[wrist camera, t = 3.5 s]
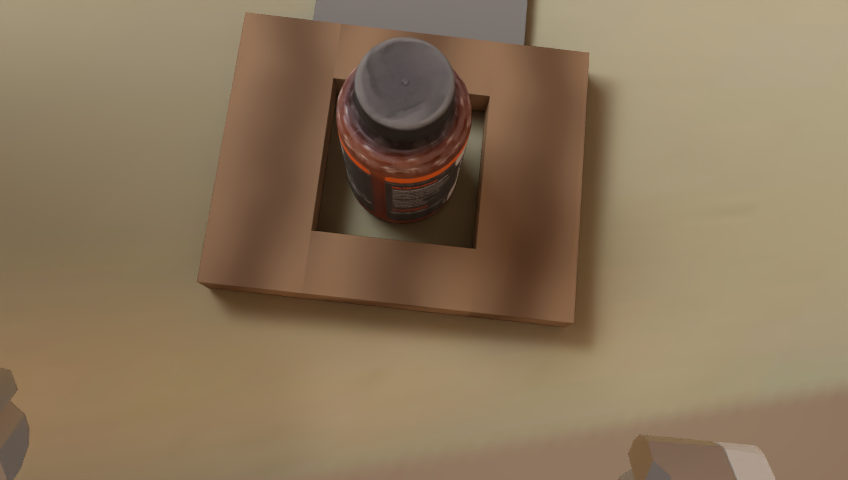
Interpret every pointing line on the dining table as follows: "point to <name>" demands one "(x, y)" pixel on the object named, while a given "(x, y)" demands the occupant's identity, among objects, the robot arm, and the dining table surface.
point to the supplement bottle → (403, 129)
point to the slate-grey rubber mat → (433, 17)
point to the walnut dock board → (384, 258)
